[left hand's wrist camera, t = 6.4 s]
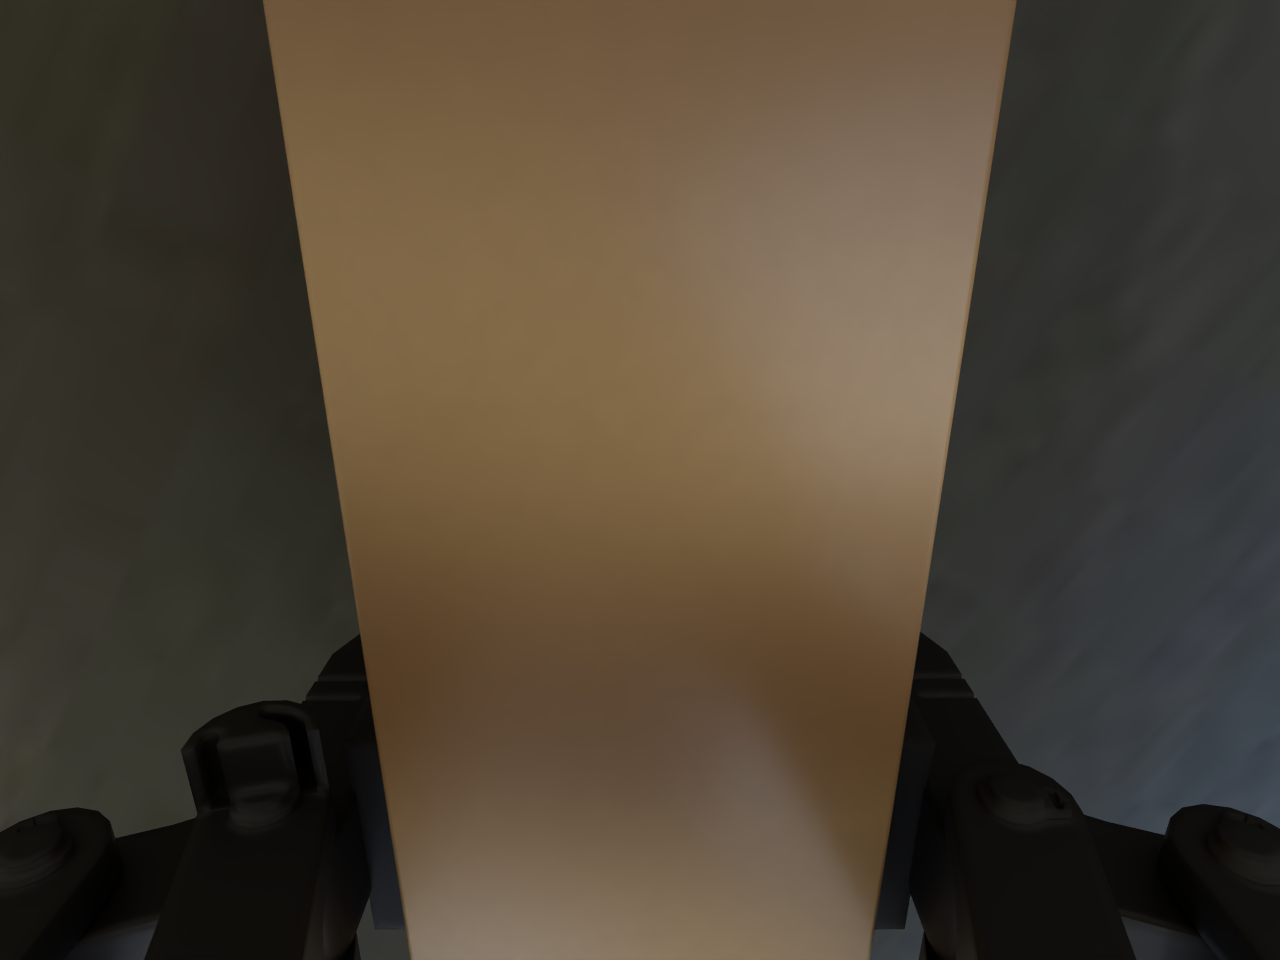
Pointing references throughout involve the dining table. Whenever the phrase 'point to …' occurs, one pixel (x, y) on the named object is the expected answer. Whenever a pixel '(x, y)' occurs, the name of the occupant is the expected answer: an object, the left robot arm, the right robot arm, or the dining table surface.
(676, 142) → the beam
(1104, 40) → the dining table surface
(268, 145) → the dining table surface
